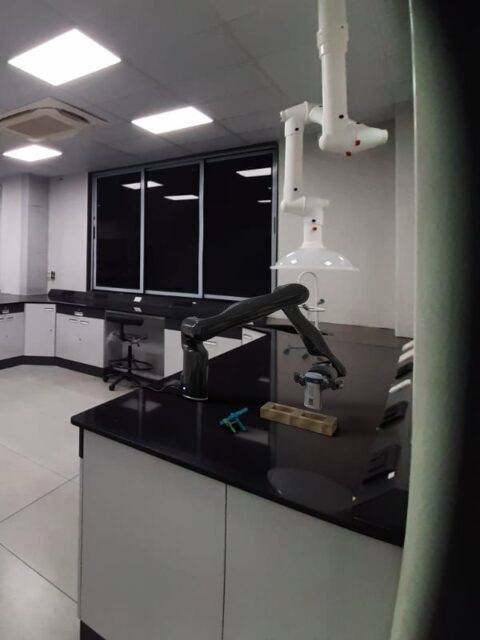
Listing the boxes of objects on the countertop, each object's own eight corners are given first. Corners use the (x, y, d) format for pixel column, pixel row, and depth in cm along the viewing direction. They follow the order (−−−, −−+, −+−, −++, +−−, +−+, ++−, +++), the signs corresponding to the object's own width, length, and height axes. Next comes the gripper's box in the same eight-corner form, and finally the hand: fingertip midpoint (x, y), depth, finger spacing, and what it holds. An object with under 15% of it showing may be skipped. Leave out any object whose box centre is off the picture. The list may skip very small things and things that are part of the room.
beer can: (325, 411, 137) (326, 376, 137) (309, 409, 138) (310, 375, 138) (316, 406, 142) (317, 372, 142) (300, 404, 143) (301, 371, 143)
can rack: (260, 417, 147) (260, 407, 147) (268, 410, 154) (268, 401, 154) (331, 436, 132) (331, 425, 132) (336, 427, 139) (337, 417, 139)
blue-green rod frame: (229, 415, 143) (250, 402, 136) (242, 431, 140) (264, 419, 133) (210, 424, 138) (230, 412, 131) (223, 441, 135) (245, 429, 128)
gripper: (297, 362, 154) (286, 369, 143) (348, 371, 144) (340, 379, 133) (296, 381, 154) (285, 390, 143) (347, 392, 144) (340, 402, 133)
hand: (312, 385), depth 138 cm, fingers closed on beer can, 4 cm apart
